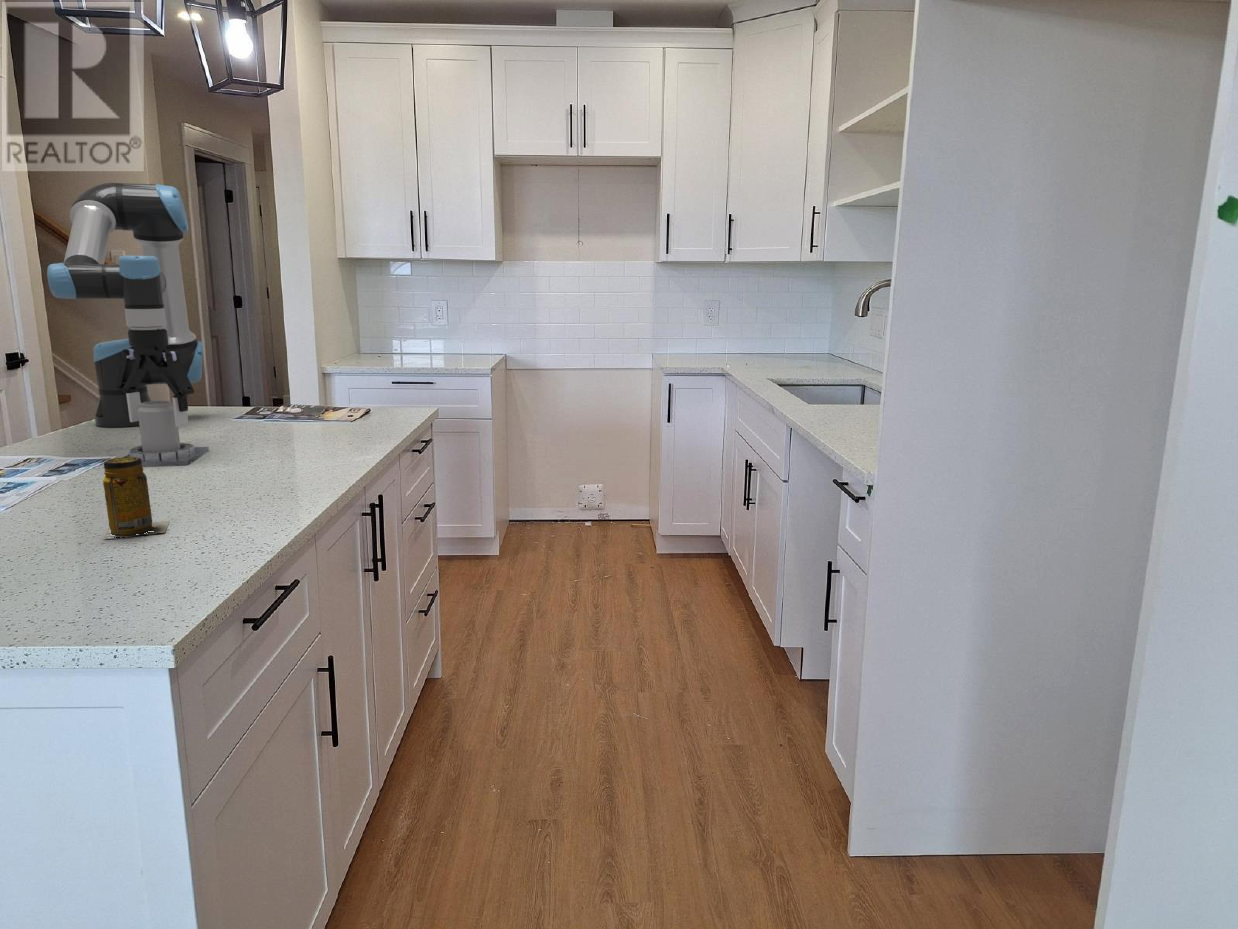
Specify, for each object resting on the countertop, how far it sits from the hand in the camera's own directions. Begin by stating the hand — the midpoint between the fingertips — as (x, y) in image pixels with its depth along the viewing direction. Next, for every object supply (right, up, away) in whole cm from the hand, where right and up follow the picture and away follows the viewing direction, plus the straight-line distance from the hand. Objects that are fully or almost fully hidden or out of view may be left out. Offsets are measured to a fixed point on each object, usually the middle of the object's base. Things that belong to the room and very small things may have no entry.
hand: (159, 423), depth 180 cm
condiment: (+25, -20, -49) cm, 59 cm away
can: (0, -7, +2) cm, 7 cm away
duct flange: (0, -8, +2) cm, 8 cm away
